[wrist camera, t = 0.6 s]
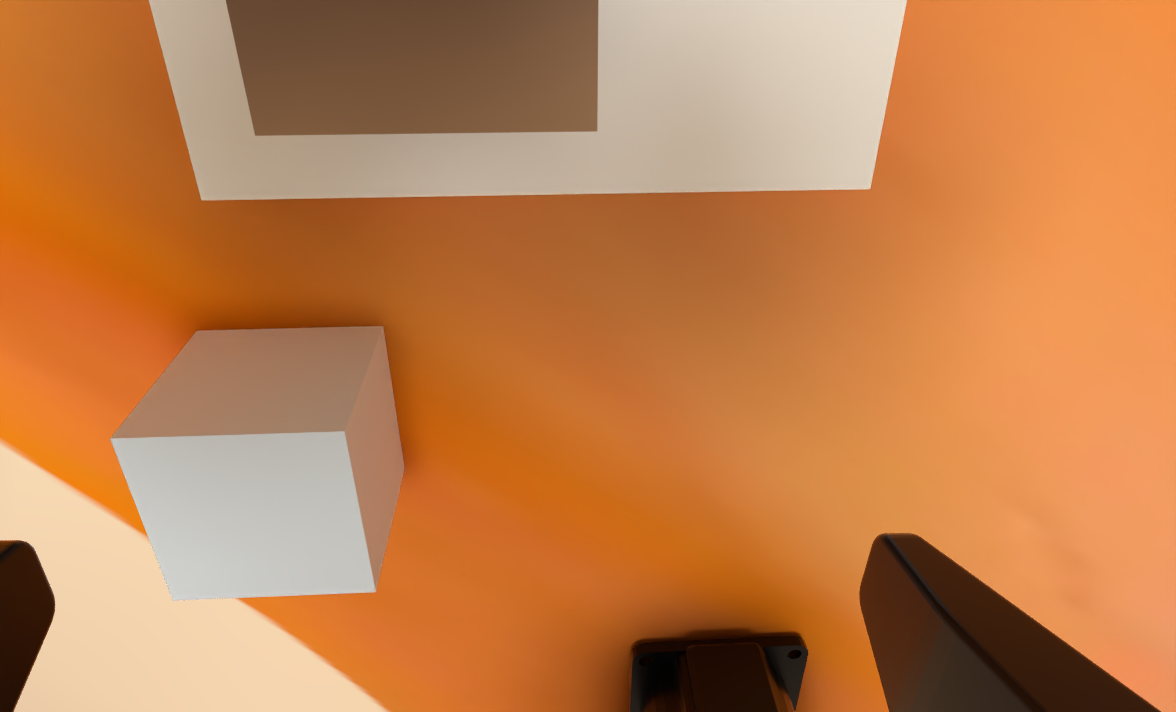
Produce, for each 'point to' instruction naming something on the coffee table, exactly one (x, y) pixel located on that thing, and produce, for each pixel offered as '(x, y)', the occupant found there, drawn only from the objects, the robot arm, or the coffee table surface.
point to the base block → (417, 65)
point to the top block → (268, 462)
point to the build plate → (624, 118)
